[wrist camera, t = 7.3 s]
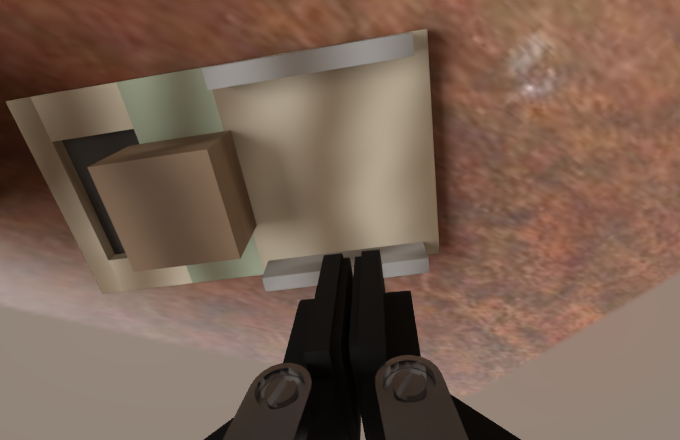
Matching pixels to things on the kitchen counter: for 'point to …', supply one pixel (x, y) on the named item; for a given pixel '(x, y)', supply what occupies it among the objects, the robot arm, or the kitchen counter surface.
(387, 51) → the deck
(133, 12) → the kitchen counter surface
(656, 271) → the kitchen counter surface
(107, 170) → the walnut block
